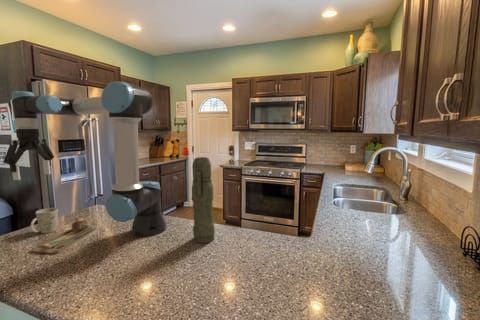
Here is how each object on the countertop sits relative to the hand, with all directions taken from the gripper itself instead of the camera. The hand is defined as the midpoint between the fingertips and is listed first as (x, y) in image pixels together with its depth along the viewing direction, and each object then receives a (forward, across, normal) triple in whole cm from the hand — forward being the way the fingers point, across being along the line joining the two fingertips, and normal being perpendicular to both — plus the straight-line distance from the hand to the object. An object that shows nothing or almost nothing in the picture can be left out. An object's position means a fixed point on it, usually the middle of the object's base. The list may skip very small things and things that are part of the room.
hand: (33, 176), depth 108 cm
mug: (+27, -2, 0) cm, 27 cm away
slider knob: (+25, -3, +20) cm, 32 cm away
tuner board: (+27, +4, +18) cm, 33 cm away
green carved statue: (+28, -6, +76) cm, 81 cm away
